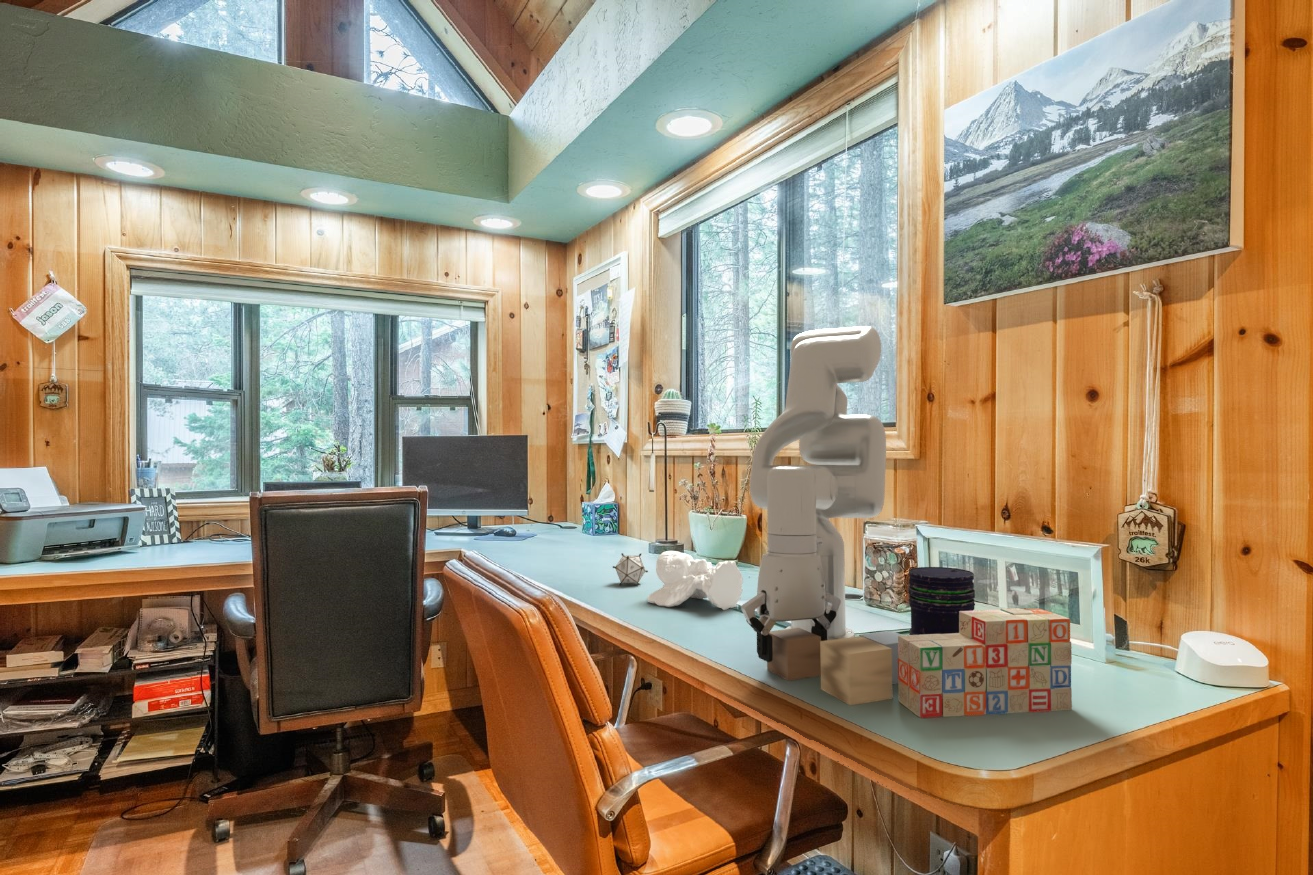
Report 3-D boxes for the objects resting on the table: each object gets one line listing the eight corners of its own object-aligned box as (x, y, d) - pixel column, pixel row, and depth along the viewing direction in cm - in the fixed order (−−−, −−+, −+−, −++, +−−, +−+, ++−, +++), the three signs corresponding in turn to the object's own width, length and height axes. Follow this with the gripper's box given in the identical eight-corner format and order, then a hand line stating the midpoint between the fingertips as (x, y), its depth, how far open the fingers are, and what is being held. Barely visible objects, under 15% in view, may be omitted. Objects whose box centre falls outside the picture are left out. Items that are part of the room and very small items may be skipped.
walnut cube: (767, 669, 113) (766, 631, 113) (799, 664, 115) (799, 627, 115) (787, 681, 107) (787, 641, 107) (821, 675, 109) (820, 636, 110)
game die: (636, 597, 185) (658, 565, 187) (629, 592, 177) (652, 558, 180) (609, 579, 188) (631, 547, 190) (601, 572, 181) (624, 540, 183)
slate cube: (859, 673, 110) (859, 634, 110) (891, 668, 113) (890, 630, 113) (885, 685, 105) (884, 644, 105) (918, 680, 107) (917, 639, 107)
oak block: (820, 689, 103) (820, 641, 103) (861, 683, 106) (860, 636, 106) (850, 705, 97) (849, 653, 97) (892, 698, 99) (891, 648, 99)
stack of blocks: (920, 719, 92) (918, 623, 92) (897, 702, 98) (896, 612, 98) (1073, 710, 94) (1071, 616, 94) (1042, 694, 100) (1040, 606, 101)
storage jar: (943, 679, 107) (942, 579, 107) (895, 662, 116) (894, 569, 116) (990, 670, 111) (989, 574, 111) (941, 654, 120) (939, 565, 120)
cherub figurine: (705, 567, 148) (640, 547, 162) (702, 625, 149) (637, 601, 163) (745, 557, 157) (680, 540, 171) (742, 613, 158) (677, 591, 172)
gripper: (824, 541, 118) (825, 646, 117) (731, 545, 111) (731, 656, 111) (852, 545, 111) (853, 657, 110) (755, 550, 104) (755, 668, 104)
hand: (792, 656), depth 110 cm, fingers open, 9 cm apart
